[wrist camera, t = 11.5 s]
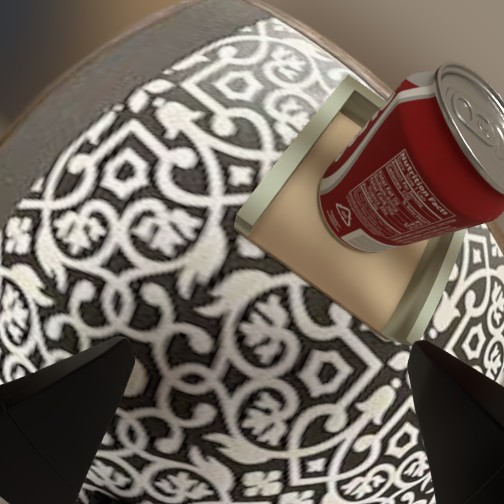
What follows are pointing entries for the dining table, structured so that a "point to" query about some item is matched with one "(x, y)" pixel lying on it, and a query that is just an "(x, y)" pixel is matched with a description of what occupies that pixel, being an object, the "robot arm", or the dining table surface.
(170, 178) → the dining table surface
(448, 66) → the soda can
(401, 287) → the dock
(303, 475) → the dining table surface
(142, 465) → the dining table surface
